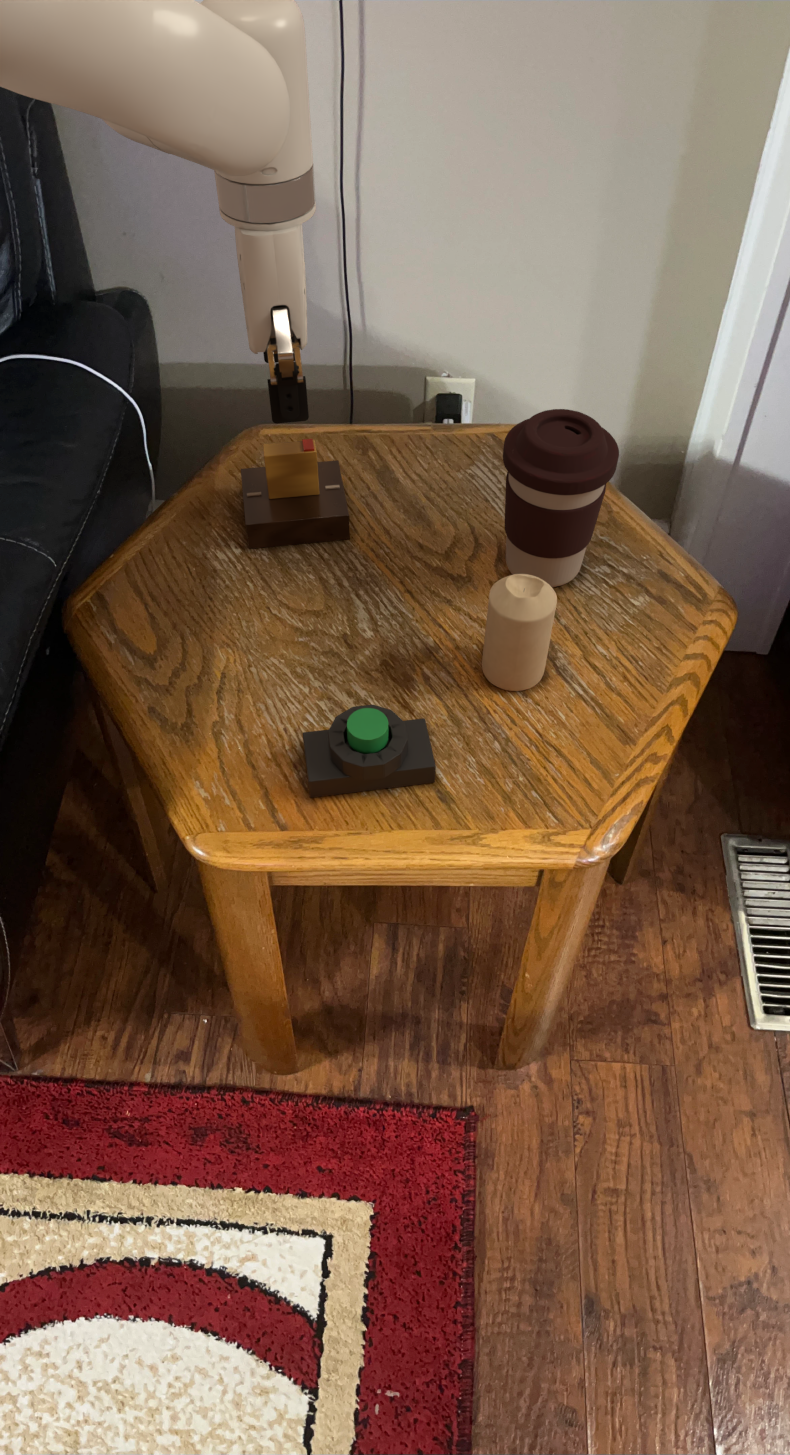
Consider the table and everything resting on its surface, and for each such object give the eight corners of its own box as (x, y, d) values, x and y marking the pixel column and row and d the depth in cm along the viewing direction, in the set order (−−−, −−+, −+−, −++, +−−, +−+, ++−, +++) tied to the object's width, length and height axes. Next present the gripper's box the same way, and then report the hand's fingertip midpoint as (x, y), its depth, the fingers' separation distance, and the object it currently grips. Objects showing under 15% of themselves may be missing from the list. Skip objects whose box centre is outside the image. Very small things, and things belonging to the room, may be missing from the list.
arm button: (350, 756, 75) (349, 742, 74) (345, 724, 77) (344, 710, 76) (391, 751, 75) (391, 737, 74) (385, 719, 77) (385, 705, 76)
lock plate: (249, 548, 96) (245, 523, 94) (243, 492, 102) (240, 467, 99) (350, 539, 97) (349, 513, 94) (339, 484, 103) (338, 458, 100)
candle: (544, 648, 88) (559, 563, 80) (544, 694, 84) (559, 609, 76) (482, 644, 88) (491, 558, 80) (480, 689, 84) (489, 604, 77)
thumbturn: (269, 499, 96) (263, 454, 92) (267, 486, 97) (262, 441, 93) (319, 494, 97) (316, 449, 92) (317, 482, 98) (314, 437, 94)
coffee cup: (509, 607, 91) (527, 472, 79) (478, 539, 97) (491, 405, 85) (609, 590, 92) (641, 455, 81) (573, 525, 98) (597, 391, 87)
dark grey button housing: (310, 803, 77) (307, 773, 74) (303, 743, 80) (300, 712, 77) (436, 788, 78) (438, 757, 75) (423, 729, 81) (424, 698, 78)
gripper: (212, 148, 80) (239, 342, 94) (222, 245, 69) (250, 449, 83) (304, 142, 81) (317, 336, 94) (326, 237, 70) (338, 441, 83)
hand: (285, 389), depth 88 cm, fingers open, 9 cm apart
